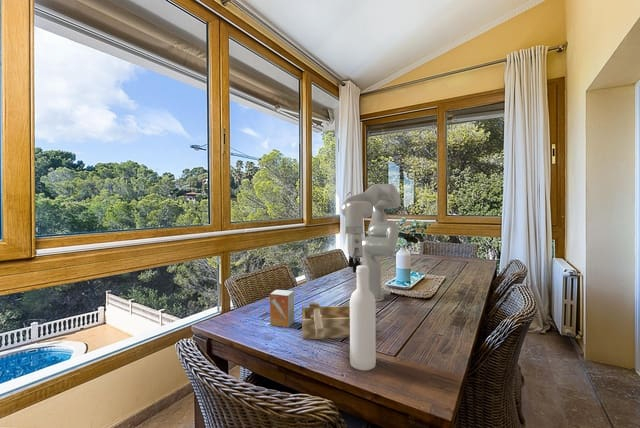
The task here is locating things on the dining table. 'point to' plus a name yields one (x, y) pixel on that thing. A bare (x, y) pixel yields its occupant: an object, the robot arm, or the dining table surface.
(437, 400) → the dining table surface
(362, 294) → the bottle
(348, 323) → the toolbox
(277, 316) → the small box
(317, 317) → the key
